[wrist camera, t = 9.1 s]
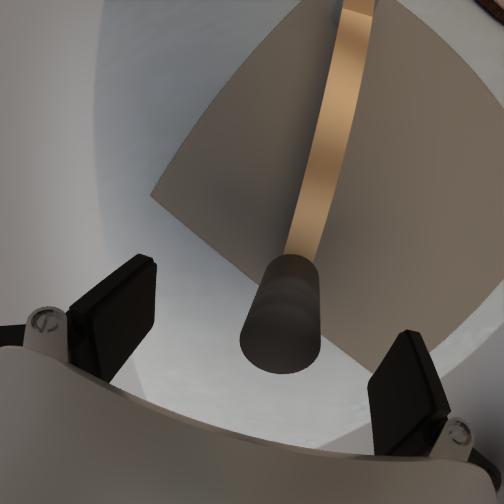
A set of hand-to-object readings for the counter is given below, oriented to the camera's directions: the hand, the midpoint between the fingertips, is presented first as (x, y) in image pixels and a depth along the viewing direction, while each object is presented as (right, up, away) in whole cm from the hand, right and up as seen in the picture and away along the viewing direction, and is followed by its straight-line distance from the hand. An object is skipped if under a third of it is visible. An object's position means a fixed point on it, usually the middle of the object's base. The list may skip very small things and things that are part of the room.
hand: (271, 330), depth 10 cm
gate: (+4, +10, +9) cm, 14 cm away
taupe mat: (+10, +8, +10) cm, 16 cm away
